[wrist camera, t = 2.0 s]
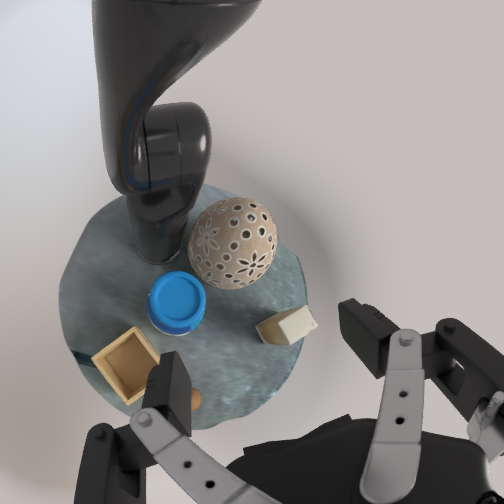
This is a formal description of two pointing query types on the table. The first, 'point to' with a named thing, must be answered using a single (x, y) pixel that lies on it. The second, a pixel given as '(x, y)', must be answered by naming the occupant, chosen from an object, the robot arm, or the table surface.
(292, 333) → the cosmetic box
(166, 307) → the beverage bottle
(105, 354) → the open box
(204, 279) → the ornament
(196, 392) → the egg
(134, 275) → the table surface
